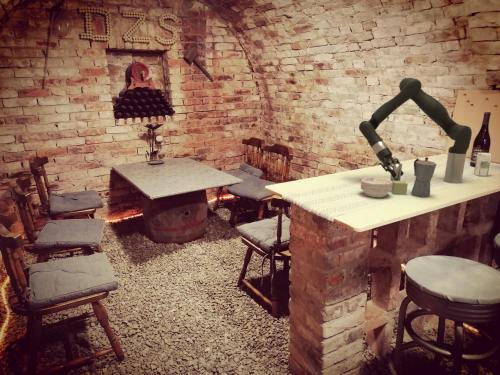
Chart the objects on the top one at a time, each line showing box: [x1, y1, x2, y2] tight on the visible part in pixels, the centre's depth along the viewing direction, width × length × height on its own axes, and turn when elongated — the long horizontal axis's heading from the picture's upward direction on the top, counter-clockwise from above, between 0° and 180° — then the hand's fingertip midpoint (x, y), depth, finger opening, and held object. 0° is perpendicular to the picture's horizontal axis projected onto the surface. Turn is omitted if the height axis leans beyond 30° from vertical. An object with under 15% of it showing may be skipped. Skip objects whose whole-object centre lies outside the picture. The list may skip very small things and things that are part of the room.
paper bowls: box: [360, 177, 393, 198], centre depth 182 cm, size 15×15×8 cm
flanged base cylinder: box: [389, 162, 403, 181], centre depth 192 cm, size 6×6×14 cm
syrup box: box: [473, 152, 492, 177], centre depth 225 cm, size 6×6×14 cm
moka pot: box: [411, 157, 437, 198], centre depth 181 cm, size 10×15×20 cm, turn 16°
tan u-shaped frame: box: [390, 180, 409, 196], centre depth 191 cm, size 16×10×6 cm, turn 171°
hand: (398, 175), depth 191 cm, fingers open, 6 cm apart
